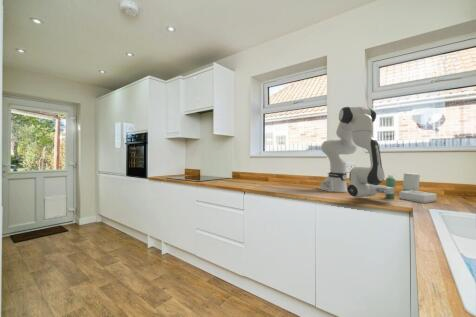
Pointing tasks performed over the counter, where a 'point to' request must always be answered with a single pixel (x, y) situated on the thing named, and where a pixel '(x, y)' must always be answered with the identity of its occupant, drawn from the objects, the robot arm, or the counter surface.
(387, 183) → the green bottle
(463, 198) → the counter surface
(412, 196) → the tray
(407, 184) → the skincare box
